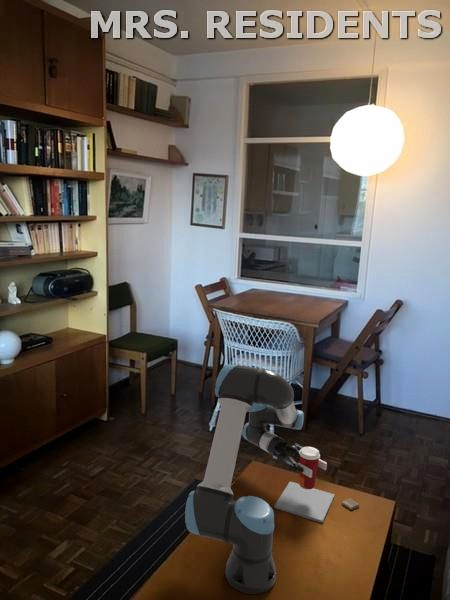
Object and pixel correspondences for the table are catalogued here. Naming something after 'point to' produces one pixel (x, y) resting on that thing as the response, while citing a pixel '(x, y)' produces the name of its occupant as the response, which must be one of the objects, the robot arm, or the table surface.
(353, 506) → the block
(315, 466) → the paper cup
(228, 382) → the robot arm
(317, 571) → the table surface
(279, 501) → the slate board
